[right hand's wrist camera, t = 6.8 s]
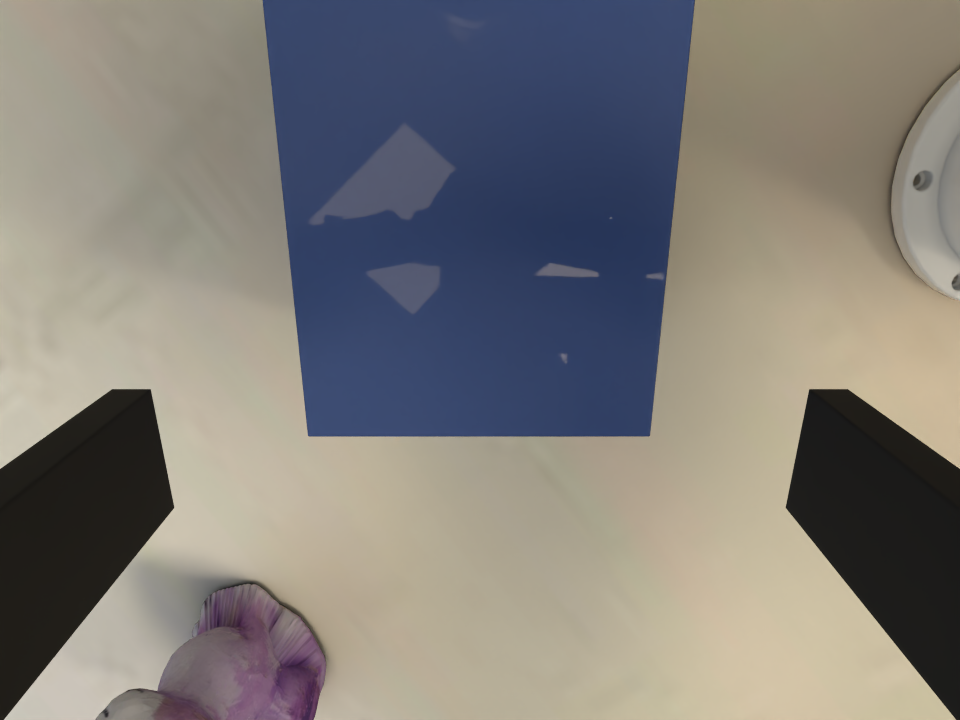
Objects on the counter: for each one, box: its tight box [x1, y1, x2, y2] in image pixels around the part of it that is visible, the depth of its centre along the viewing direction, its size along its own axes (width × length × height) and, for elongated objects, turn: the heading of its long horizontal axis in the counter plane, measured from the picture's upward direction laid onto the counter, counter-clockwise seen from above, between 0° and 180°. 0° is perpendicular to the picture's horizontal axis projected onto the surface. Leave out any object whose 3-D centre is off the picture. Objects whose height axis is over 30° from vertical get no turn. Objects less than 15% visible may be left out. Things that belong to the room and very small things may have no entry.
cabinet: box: [263, 0, 695, 436], centre depth 24 cm, size 14×12×12 cm
